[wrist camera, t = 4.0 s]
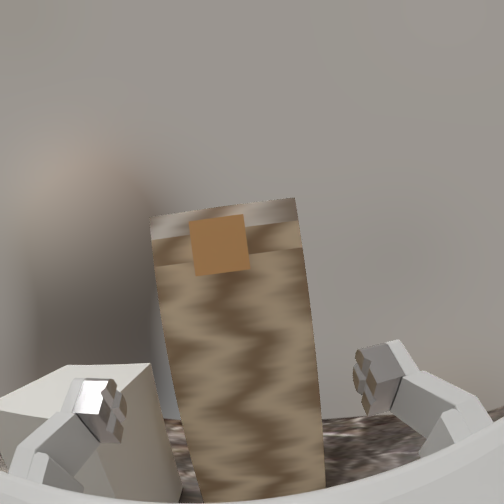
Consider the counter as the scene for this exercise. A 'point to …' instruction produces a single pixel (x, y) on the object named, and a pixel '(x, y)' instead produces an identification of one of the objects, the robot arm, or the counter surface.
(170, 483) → the pedestal
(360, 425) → the counter surface
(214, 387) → the socket tower
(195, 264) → the plug
